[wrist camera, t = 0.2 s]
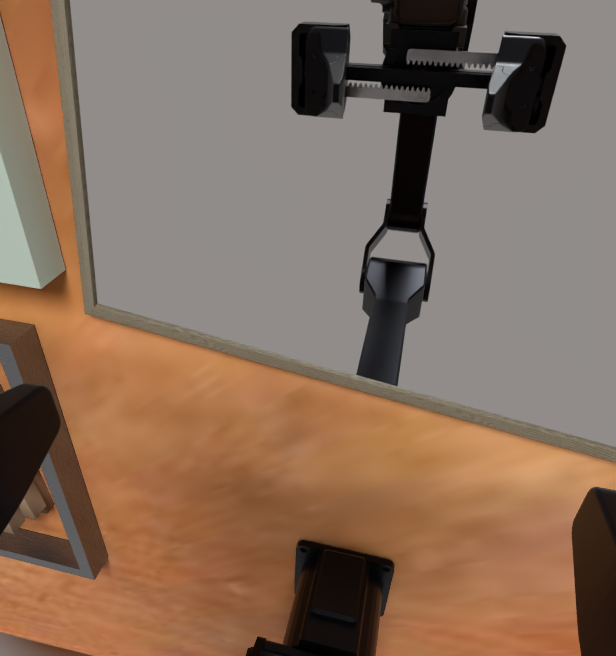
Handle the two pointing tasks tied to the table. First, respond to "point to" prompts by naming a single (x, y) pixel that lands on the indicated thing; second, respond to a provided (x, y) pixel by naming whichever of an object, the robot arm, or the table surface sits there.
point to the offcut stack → (31, 502)
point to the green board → (22, 193)
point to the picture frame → (359, 194)
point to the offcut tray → (51, 473)
